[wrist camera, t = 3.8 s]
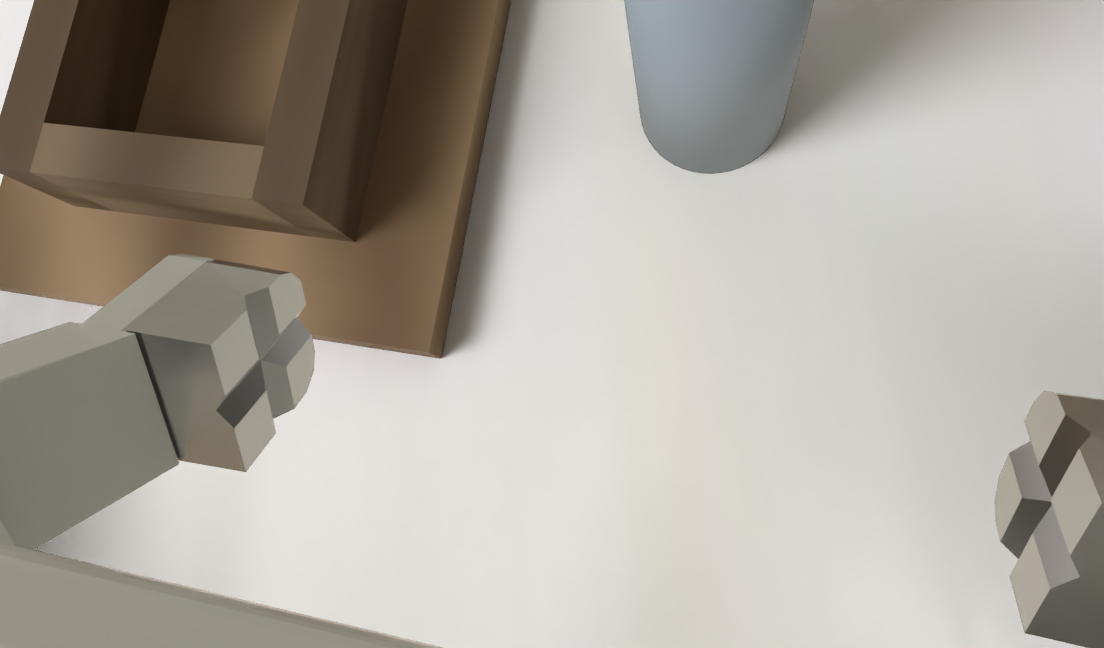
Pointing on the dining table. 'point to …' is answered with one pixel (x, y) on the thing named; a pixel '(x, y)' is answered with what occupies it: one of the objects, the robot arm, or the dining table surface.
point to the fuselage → (714, 76)
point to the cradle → (252, 151)
